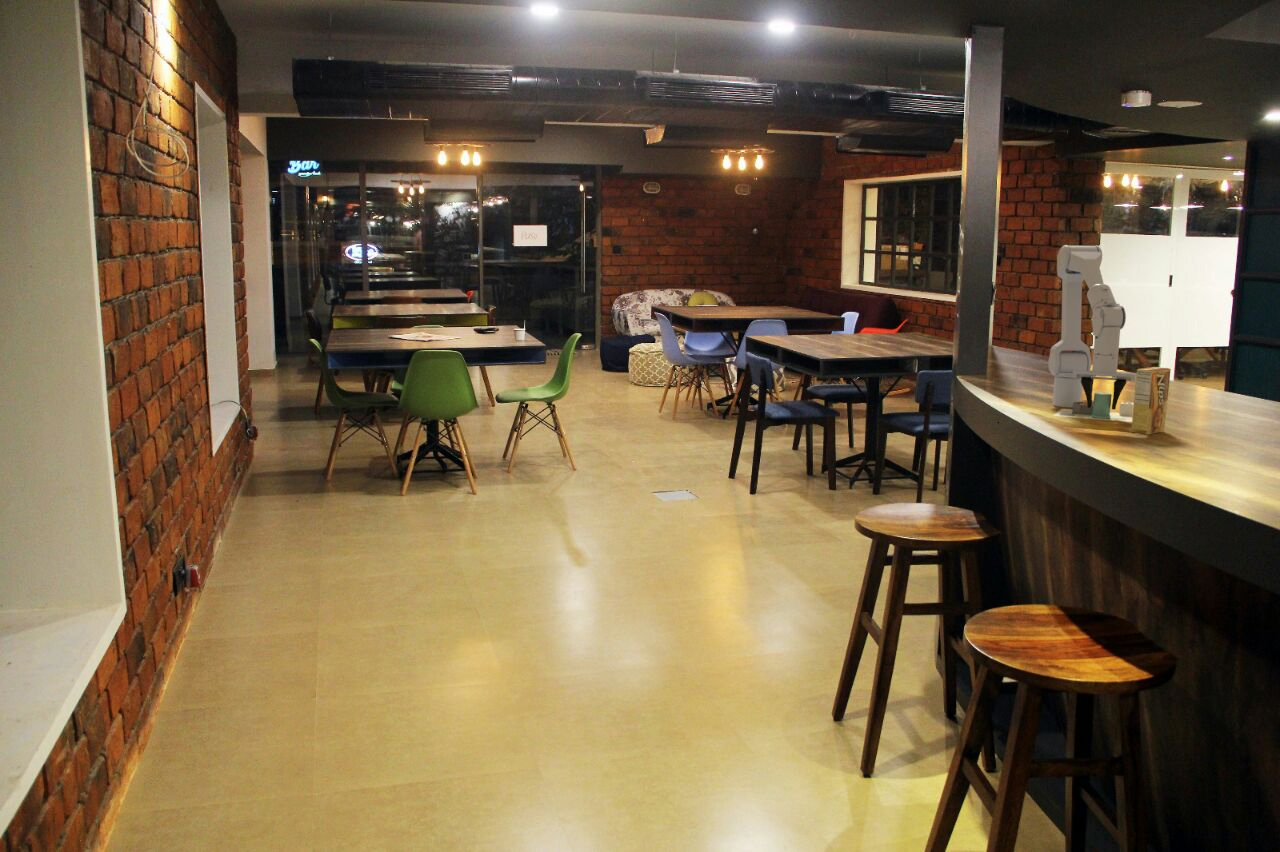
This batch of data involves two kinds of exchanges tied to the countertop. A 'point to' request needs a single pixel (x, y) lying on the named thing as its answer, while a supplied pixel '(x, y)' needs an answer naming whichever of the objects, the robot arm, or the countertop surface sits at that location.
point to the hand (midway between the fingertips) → (1101, 408)
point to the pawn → (1102, 405)
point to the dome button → (1086, 402)
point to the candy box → (1151, 399)
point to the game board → (1086, 412)
